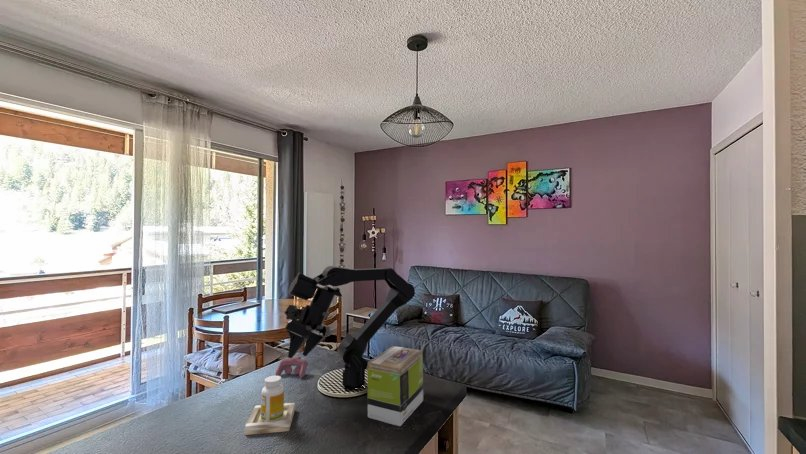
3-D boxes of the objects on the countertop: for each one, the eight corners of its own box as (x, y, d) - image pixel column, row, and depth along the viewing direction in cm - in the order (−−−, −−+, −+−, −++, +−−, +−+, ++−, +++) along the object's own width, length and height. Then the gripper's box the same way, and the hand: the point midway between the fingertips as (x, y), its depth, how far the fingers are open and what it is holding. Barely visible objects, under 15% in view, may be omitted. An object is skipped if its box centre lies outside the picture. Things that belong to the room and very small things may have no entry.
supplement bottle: (287, 412, 88) (287, 374, 88) (277, 423, 82) (278, 383, 82) (267, 411, 88) (267, 373, 88) (256, 422, 83) (257, 382, 83)
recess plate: (294, 410, 91) (294, 402, 91) (289, 431, 81) (289, 422, 81) (255, 413, 89) (255, 405, 89) (244, 435, 79) (244, 426, 79)
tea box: (393, 394, 100) (393, 344, 101) (424, 401, 96) (424, 349, 97) (365, 418, 87) (366, 360, 87) (400, 428, 83) (401, 367, 83)
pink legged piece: (306, 379, 114) (310, 357, 117) (302, 378, 110) (306, 355, 113) (278, 378, 115) (283, 356, 118) (273, 377, 111) (278, 354, 114)
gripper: (310, 298, 112) (289, 344, 109) (282, 292, 95) (256, 346, 91) (339, 311, 110) (318, 358, 106) (316, 307, 92) (290, 363, 89)
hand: (297, 356), depth 98 cm, fingers open, 9 cm apart
